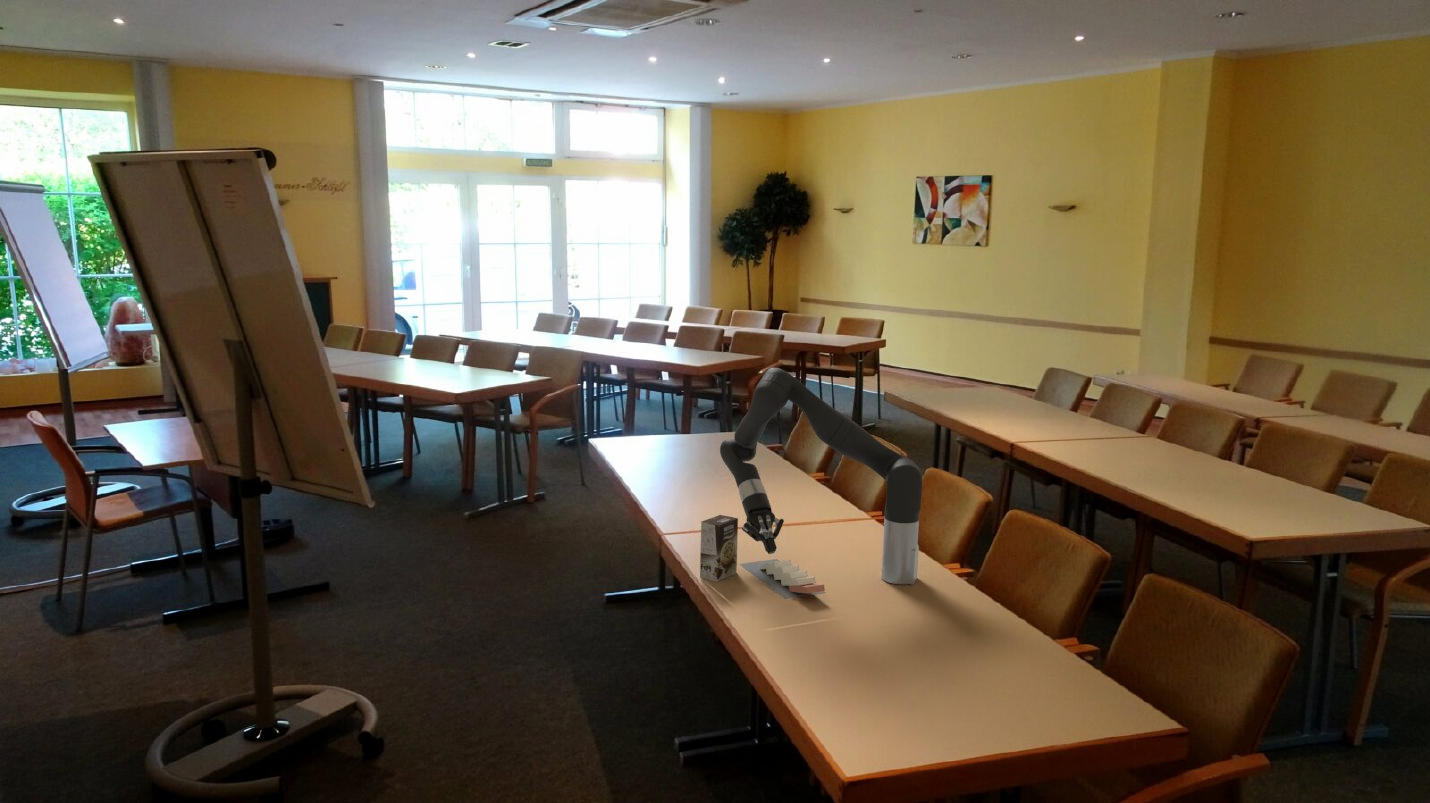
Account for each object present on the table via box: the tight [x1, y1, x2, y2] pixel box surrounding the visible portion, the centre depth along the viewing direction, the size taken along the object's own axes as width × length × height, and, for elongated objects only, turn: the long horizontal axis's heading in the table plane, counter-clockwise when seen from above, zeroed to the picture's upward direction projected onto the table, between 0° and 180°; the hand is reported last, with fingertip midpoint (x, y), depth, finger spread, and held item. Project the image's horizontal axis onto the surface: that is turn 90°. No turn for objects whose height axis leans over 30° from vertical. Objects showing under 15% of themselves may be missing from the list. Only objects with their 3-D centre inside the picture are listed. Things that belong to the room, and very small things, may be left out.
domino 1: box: [759, 559, 793, 569], centre depth 264 cm, size 5×2×10 cm
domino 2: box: [766, 564, 801, 575], centre depth 260 cm, size 5×2×10 cm
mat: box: [739, 558, 826, 600], centre depth 261 cm, size 28×12×1 cm, turn 23°
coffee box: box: [699, 514, 739, 582], centre depth 262 cm, size 9×6×16 cm
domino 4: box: [781, 576, 817, 586], centre depth 252 cm, size 5×2×10 cm
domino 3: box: [774, 570, 809, 580], centre depth 256 cm, size 5×2×10 cm
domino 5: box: [789, 583, 825, 593], centre depth 248 cm, size 5×2×10 cm
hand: (772, 552), depth 266 cm, fingers closed
